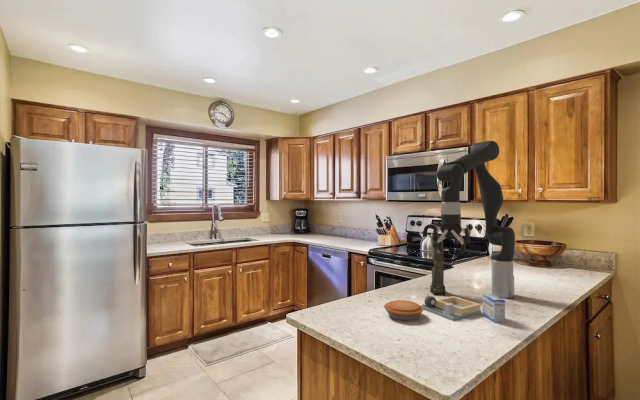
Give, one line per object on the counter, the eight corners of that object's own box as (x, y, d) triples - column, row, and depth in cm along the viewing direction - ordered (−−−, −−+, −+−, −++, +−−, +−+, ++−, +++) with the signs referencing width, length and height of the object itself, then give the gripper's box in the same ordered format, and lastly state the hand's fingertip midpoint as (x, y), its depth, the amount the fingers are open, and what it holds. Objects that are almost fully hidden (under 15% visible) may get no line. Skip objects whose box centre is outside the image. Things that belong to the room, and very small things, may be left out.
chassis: (447, 301, 150) (447, 290, 150) (481, 313, 135) (480, 300, 135) (420, 307, 142) (419, 296, 142) (452, 320, 127) (452, 307, 127)
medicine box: (482, 315, 132) (482, 294, 132) (492, 315, 132) (492, 293, 132) (494, 322, 124) (494, 300, 124) (505, 322, 125) (505, 299, 125)
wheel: (431, 304, 142) (431, 294, 142) (436, 306, 139) (436, 296, 139) (424, 306, 140) (424, 296, 140) (429, 308, 137) (429, 298, 137)
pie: (395, 325, 123) (395, 311, 123) (377, 311, 138) (377, 299, 138) (431, 320, 127) (431, 307, 127) (410, 308, 142) (410, 296, 142)
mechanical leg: (448, 296, 155) (445, 233, 162) (432, 295, 157) (430, 233, 164) (443, 294, 168) (441, 236, 175) (429, 294, 170) (426, 236, 177)
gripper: (471, 212, 133) (472, 252, 133) (436, 212, 142) (437, 249, 142) (466, 213, 127) (467, 255, 127) (430, 213, 136) (430, 252, 136)
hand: (451, 252), depth 135 cm, fingers open, 8 cm apart
